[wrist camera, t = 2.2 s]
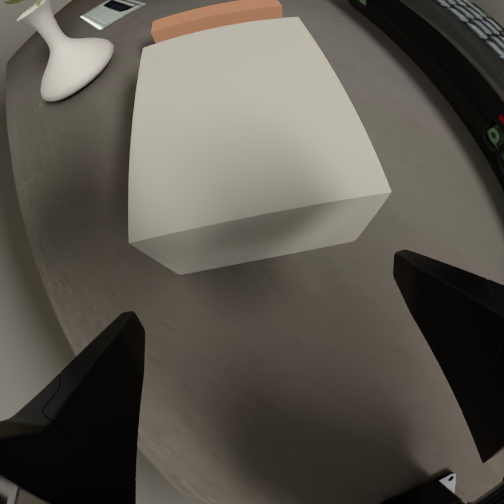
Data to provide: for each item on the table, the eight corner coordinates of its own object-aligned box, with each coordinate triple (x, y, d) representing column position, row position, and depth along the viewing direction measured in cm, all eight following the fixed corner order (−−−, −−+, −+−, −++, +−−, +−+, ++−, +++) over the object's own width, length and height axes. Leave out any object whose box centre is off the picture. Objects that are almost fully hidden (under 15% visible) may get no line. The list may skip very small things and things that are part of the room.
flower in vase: (49, 123, 26) (-60, -6, 2) (47, 84, 29) (-30, -21, 5) (138, 62, 27) (62, -99, 3) (121, 35, 30) (63, -87, 6)
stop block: (283, 42, 25) (281, 5, 20) (165, 66, 26) (151, 32, 21) (276, 30, 26) (274, -4, 21) (165, 52, 26) (153, 21, 22)
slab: (354, 241, 19) (391, 192, 12) (180, 275, 19) (128, 243, 12) (297, 81, 23) (298, 17, 16) (170, 106, 24) (143, 47, 17)
